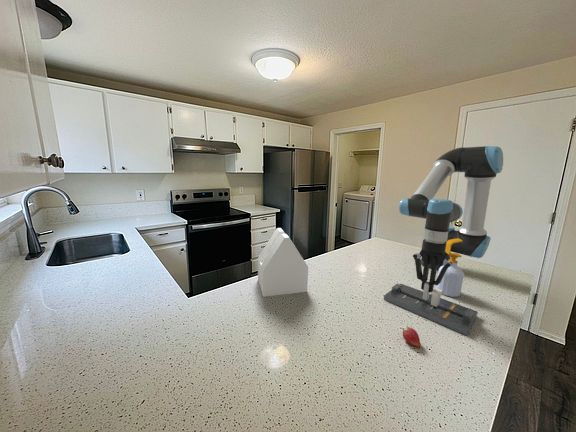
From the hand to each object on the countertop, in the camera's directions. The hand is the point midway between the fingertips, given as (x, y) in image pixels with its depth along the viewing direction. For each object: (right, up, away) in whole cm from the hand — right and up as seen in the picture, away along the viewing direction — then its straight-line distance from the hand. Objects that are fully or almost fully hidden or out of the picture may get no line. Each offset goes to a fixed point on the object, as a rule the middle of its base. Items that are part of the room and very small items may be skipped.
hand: (425, 298), depth 92 cm
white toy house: (-57, 0, +14) cm, 59 cm away
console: (+1, -4, 0) cm, 4 cm away
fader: (+2, -2, -2) cm, 4 cm away
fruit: (-16, -7, -19) cm, 26 cm away
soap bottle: (+17, -2, +12) cm, 21 cm away
